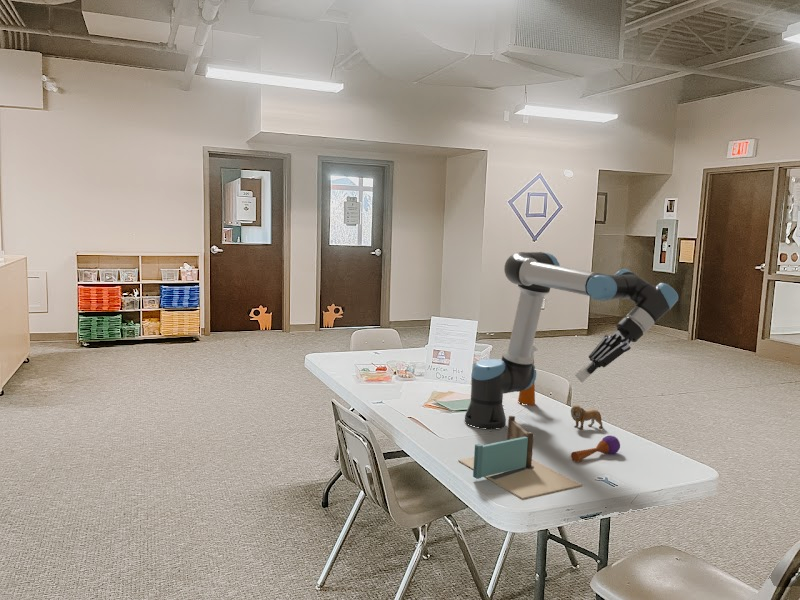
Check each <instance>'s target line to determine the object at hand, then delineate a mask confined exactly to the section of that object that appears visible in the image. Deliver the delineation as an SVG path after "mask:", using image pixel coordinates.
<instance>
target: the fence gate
mask: <svg viewBox="0 0 800 600" xmlns="http://www.w3.org/2000/svg"><path fill="white" fill-rule="evenodd" d="M527 444H528V437H520V438H515V439H511V440H507V439H506V440H503V441H502V440H501V441H498V442H497V441H496V442H492V443H487V444H481V443H477V444H476V443H475V444H474V452H473V453H474V454H473V455H474V456H473V457H474V469H473V471H472V477H473V478H474V479H476V480H479V479H481V478H486V477H485V476H489V475H493V474H497V473H501V472H506V471H510V470H514V469H518V468H522V467H526V458H527Z"/></svg>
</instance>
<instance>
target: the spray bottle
mask: <svg viewBox="0 0 800 600" xmlns="http://www.w3.org/2000/svg"><path fill="white" fill-rule="evenodd" d="M537 351H538V348H537V347H536V346H534V345H533V346H532V351H531V355H530V356H531V358H532V359H533V364H534V365H535V354H534V352H537ZM535 388H536V387H535V383H534V384H533V385H532V386H531V387H530V388H528V389H526V390H523V391H519V392H518V394H519V395H518V400H517V402H518V401H519V402H520V403H523V404H527V405H526V406H534V405H536V404H535V403H536V393H535Z"/></svg>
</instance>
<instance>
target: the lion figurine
mask: <svg viewBox="0 0 800 600" xmlns="http://www.w3.org/2000/svg"><path fill="white" fill-rule="evenodd" d="M570 415H571V418H572V420H573V421H575V425H574V428H578V427H579V430H581V431H583V430H584V423H585V422H588V421H591V423H590V424H588V425H587V426H588V427H593V425H594V424H595V422H597V423H598V424H599V426H598V429H600V430H602V429H603V421H602V414H601V413H600V411H598V410H597V409H591V410H586V409H584V408H583V407H581V406H580V405H577V404H576V405H573V406H572V407H571V409H570ZM579 423H580V426H579Z"/></svg>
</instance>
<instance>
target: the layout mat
mask: <svg viewBox="0 0 800 600" xmlns="http://www.w3.org/2000/svg"><path fill="white" fill-rule="evenodd" d="M457 461H458V462H459V461H460V462H459V463H460V464H462V463H463V464H462V465H464V464H465V465H464V466H465V467H467V466H468V467H467V468H469V467H470V468H469V469H471V470H472V469H474V456H473V457H466V458H460V459H458V460H457ZM484 478H486V479H487V478H488V479H487V480H489V481H491V482H492V481H493V482H492V483H494V484H496V485H497V486H499V487H501V488H502V489H504V490H506V491H508V492H509V493H511V494H513V495H514V496H515V497H518V498H519V499H520V500H525V499H529V498H530V499H531V498H534V497H538V496H542V495H547V494H552V493H556V492H561V491H566V490H570V489H574V488H578V487H582V486H583V484H582V483H579V482H577V481H576V480H574V479H571V478H569V477H567V476H566V475H564V474H562V473H560V472H557V471H556V470H554V469H552V468H550V467H548V466H546V465H544V464H542V463H540V462H538V461H536V460H534V459H532V464H531V468H527V467H522V468H518V469H514V470H510V471H506V472H501V473H497V474H493V475H489V476H485V477H484Z"/></svg>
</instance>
